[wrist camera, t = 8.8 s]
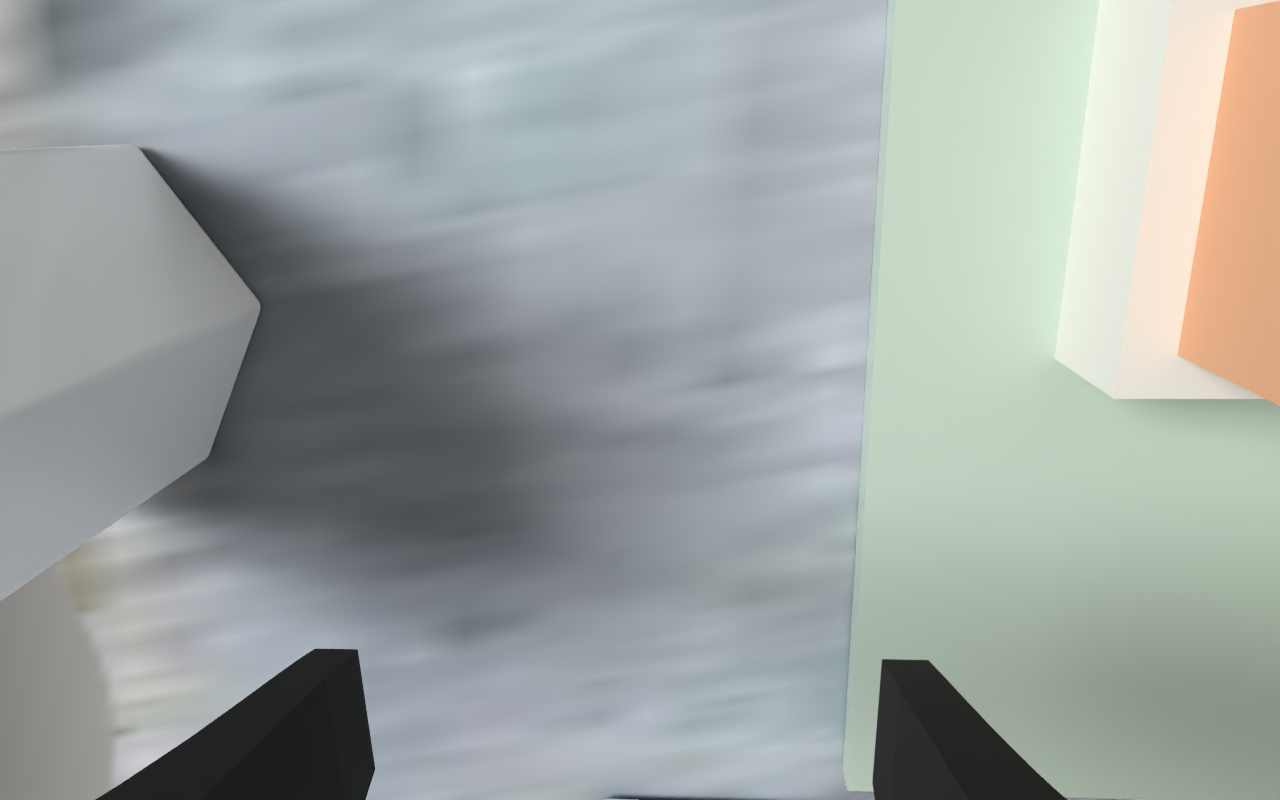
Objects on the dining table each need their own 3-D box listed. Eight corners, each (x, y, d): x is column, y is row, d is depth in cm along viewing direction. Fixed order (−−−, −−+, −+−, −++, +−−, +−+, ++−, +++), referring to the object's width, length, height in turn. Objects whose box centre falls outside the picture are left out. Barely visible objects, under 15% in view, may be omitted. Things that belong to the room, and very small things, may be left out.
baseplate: (1455, 787, 23) (1480, 810, 23) (842, 770, 25) (847, 791, 24) (1752, -165, 17) (1802, -178, 16) (896, -130, 18) (904, -141, 17)
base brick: (1335, 358, 19) (1444, 398, 17) (1054, 358, 20) (1114, 398, 17) (1425, -44, 17) (1571, -77, 14) (1103, -34, 17) (1181, -63, 15)
